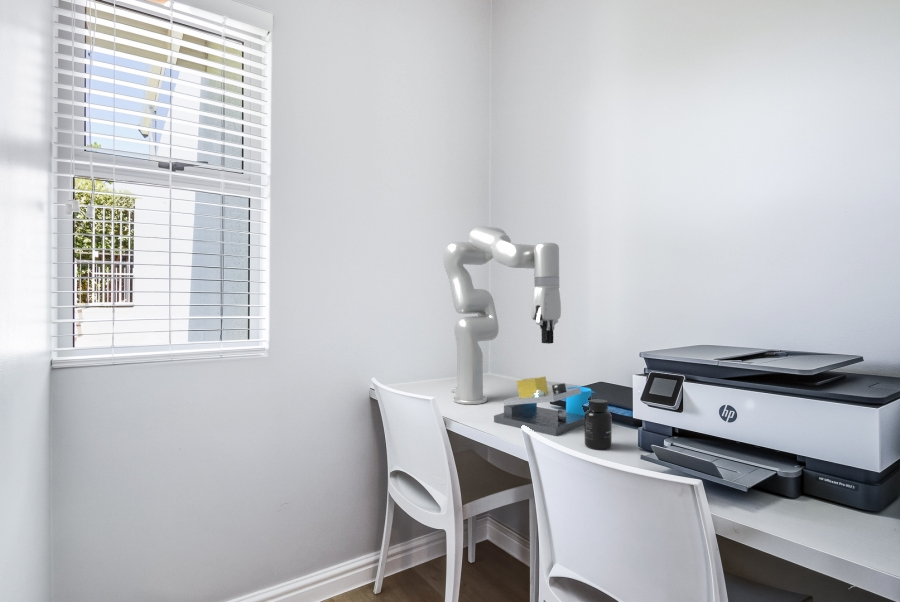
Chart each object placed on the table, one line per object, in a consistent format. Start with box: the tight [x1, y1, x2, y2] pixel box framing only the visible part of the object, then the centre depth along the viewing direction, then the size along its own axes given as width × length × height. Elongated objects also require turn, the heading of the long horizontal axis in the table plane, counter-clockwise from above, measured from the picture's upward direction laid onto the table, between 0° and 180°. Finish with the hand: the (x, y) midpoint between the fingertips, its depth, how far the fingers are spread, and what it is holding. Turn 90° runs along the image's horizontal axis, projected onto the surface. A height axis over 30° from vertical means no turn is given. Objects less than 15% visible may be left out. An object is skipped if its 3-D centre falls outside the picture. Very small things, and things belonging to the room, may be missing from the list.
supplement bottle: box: [584, 398, 613, 451], centre depth 126 cm, size 7×7×12 cm
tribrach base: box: [493, 403, 585, 437], centre depth 150 cm, size 22×19×5 cm
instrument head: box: [503, 376, 581, 406], centre depth 150 cm, size 18×16×7 cm
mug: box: [565, 386, 596, 416], centre depth 162 cm, size 12×8×8 cm
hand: (547, 343), depth 148 cm, fingers closed
